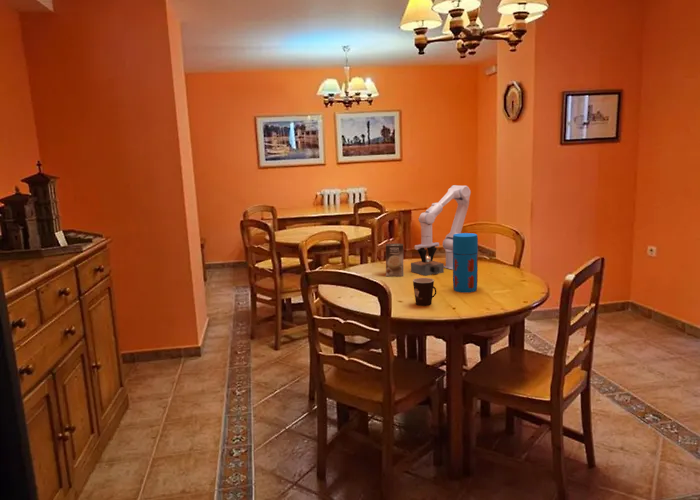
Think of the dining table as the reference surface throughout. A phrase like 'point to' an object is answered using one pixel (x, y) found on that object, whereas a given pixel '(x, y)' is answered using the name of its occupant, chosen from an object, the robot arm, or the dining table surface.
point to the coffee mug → (423, 291)
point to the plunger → (428, 259)
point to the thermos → (465, 262)
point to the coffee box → (394, 259)
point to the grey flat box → (427, 268)
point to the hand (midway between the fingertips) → (427, 261)
